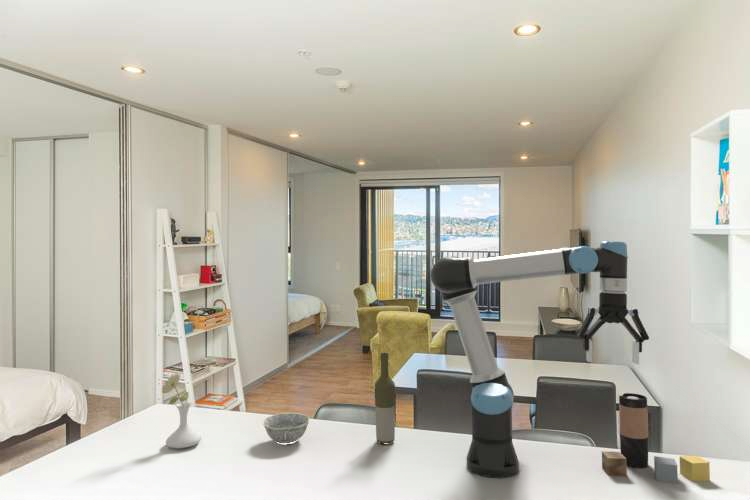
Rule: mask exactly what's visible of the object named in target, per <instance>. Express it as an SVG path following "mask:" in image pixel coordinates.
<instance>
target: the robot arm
mask: <svg viewBox="0 0 750 500" xmlns="http://www.w3.org/2000/svg"><path fill="white" fill-rule="evenodd" d="M590 273H599V291H601V292H600V293H599V295H598V296H599V300H598V302H599V304H598V308H597V307H595V308H594V307H592V306H590V307H588V308H587V314H586V316H585V318H584V320H583V322H582V324H581V325H580V328H579V330H578V332H577V333H576V336H577V337H579V338H580V339H582V341H583V344H582V345H583V346H582V349H583V350H584V351H586V352H585V354H586V358H585V359H586V361H587V362H588V363H592V362H593V359H592V358H593V340H591V338H592V337H593V336H594V335H595V334H596V333H597V331H599V329H600V328H601V327H603V325H605V324H606V323H608V324H613V323H614V324H621V325H622V326H624V328H625V329H626V331H627V332H628V333H629V334H630V335H631V336H632V337H633V339H634V340H632V350H631V351H632V355H631V356H632V358H631V359H632V360H631V361H632V363H633V364H636V365H639V364H640V353H642V352H643V343H644V342H645V341H648V340H649V339H650V337H649V334H648V332H647V331H646V329H645V327H644V324H643V322H642V321H641V319H640V317H639V310H638V309H637V308H633V307H632V308H629V309H628V307H627V306H628V299H627V298H628V295H627V293H625V292H627V290H628V246H627V243H626V242H624V241H601V242H600V243H599V247H590V246H587V245H579V246H575V247H571V246H570V247H560V248H559V249H558V248H557V249H552V250H550V249H549V250H544V251H543V250H541V251H534V252H527V253H526V252H525V253H519V254H510V255H509V254H508V255H504V256H494V257H487V258H486V257H485V258H478V259H474V258H472V257H471V256H468V257H459V256H444V257H441V258H440V259H438V260H437V261H436V262H435V263H434V264H433V265H432V267H431V270H430V280H431V283H432V286H433V287H434V288H436V290H437V291H439V292H440V295H441V297H442V301H443V303H445V304H447V305H449V308H450V311H451V313H452V317H453V320H454V322H455V325H456V329H457V332H458V334H459V338H460V340H461V344H462V346H463V350H464V353H465V355H466V359H467V362H468V365H469V368H470V371H471V374H472V376H471V377H470V379H469V382H470V383H469V384H470V386H471V389H472V391H471V396H470V401H471V443H470V445H469V448H468V451H467V455H466V468H468V470H469V471H471V472H472V473H474V474H476V475H479V476H483V477H488V478H499V479H500V478H508V477H512V476H514V475H516V474H517V473H518V472H519V471H520V464H519V463H520V461H519V458H518V455H517V452H516V448H515V446H514V442H513V405H514V401H515V394H514V390H513V387H512V386H511V385H510V383H509V382H508V381H509V380H508V378H507V375H506V373H505V371H504V369H501V368H500V367H498V364H497V360H496V357H495V354H494V351H493V349H492V346H491V342H490V340H489V337H488V334H487V331H486V328H485V325H484V322H483V319H482V316H481V313H480V310H479V307H478V305H477V301H476V298H475V297H476V294H477V292H478V290H477V288H476V287H477V286H478V285H486V284H492V283H493V284H494V283H502V282H510V281H520V280H528V279H529V280H530V279H539V278H546V277H547V278H548V277H557V276H564V275H566V276H567V275H568V276H569V275H574V274H575V275H576V274H582V275H583V274H590ZM597 314H599V317H598V318H597V319H596V321H595V322H594V324H592V325H591V323H592V321H593V320H594V317H595V316H596V315H597ZM627 315H629V316H630V317H631V319H632V322H633V323H634V325H635V328H636V329H635V328H634V327H633V326H632V324H631V323H630V322H629V320H628V319H627V318H626V316H627ZM590 325H591V327H590ZM589 327H590V328H589ZM636 330H637V331H638V332H637V331H636Z"/></svg>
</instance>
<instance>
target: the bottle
mask: <svg viewBox="0 0 750 500" xmlns="http://www.w3.org/2000/svg"><path fill="white" fill-rule="evenodd" d="M395 385H396V384H395V382H394V380H393V379H392V378H391V377H390V376H389V353H388V352H382V353H380V376H379V377H378V378H377V380H376V381H375V383H374V403H375V404H374V405H375V406H374V408H375V409H374V410H375V438H376V442H377V441H378V442H380V443H390V444H392V443H391V442H393V441H394V442H395V439H396V438H395V437H396V433H395V431H396V430H395V428H396V427H395V425H396V421H395V418H396V417H395V416H396V414H395V413H396V386H395ZM378 442H377V443H378ZM394 442H393V443H394ZM380 443H379V444H380Z"/></svg>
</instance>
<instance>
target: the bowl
mask: <svg viewBox="0 0 750 500" xmlns="http://www.w3.org/2000/svg"><path fill="white" fill-rule="evenodd" d="M310 420H311V419H310V416H308V415H306V414H304V413H299V412H285V413H284V412H283V413H278V414H273V415H269V416H267V417H266V418H264V419H263V421H262V425H263V426H264V429H265V431H266V433H267V435H268V437H269V438H270V439H271V440H273V441H274V442H279V443H290V442H294V441H296V440H297V441H299V440H300V439H301V438H302V437H303V436H304V434H305V433H306V431H307V428H308V424H309V423H310Z"/></svg>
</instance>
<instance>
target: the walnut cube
mask: <svg viewBox="0 0 750 500" xmlns="http://www.w3.org/2000/svg"><path fill="white" fill-rule="evenodd" d="M601 468H602V470H603V471H604V473H605V474H606V475H607V476H608V477H609V476H610V477H628V473H627V472H628V469H627V468H628V466H627V459H626V458H625V457H624V456H623V455H622V454H621V451H606V450H605V451H603V450H602V451H601Z"/></svg>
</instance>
